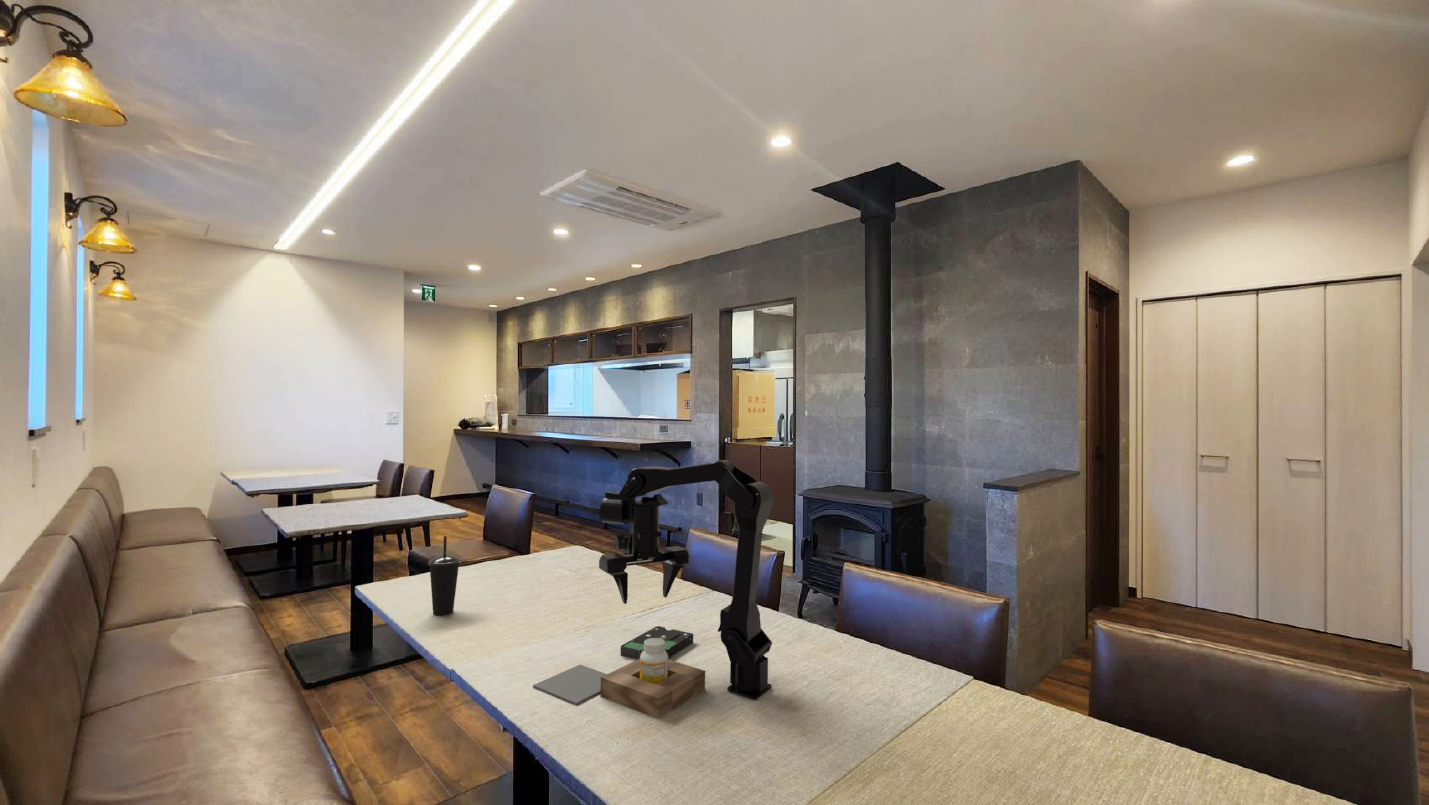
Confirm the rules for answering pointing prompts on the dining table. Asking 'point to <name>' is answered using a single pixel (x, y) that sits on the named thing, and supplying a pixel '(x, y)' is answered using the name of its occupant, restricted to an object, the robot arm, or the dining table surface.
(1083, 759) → the dining table surface
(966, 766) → the dining table surface
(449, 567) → the drinking cup
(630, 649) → the disk drive
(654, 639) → the supplement bottle
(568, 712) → the dining table surface
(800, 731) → the dining table surface
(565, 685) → the rubber mat
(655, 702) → the socket block
